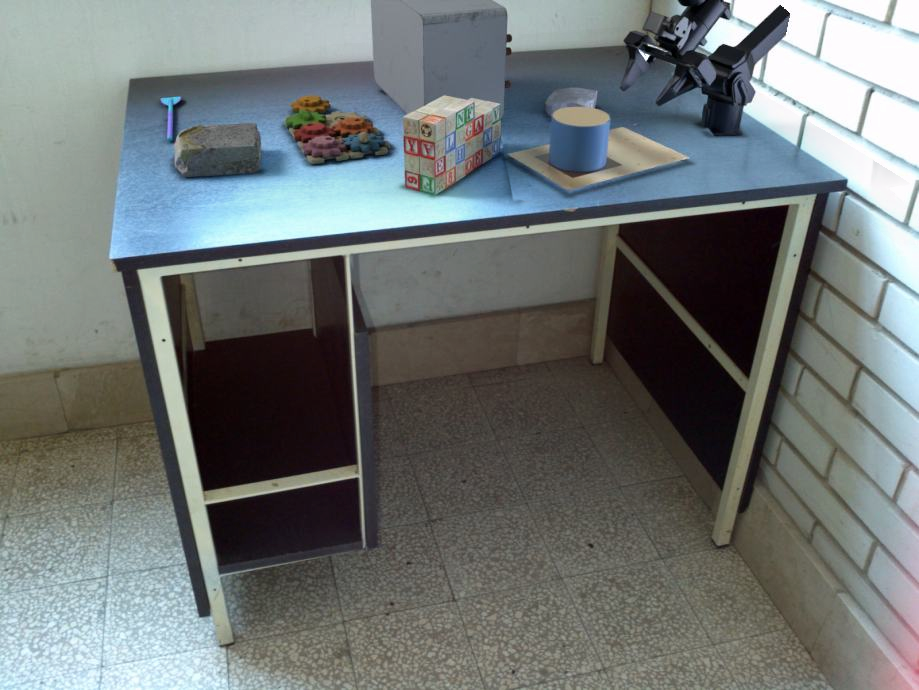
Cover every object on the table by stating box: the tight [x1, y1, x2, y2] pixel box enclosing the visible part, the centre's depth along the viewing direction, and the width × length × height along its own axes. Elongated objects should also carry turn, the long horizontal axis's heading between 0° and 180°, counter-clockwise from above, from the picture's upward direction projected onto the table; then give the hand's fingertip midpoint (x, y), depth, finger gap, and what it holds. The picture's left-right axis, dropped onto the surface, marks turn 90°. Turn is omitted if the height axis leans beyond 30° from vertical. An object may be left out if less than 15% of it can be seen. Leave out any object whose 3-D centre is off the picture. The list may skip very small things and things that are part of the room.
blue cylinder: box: [549, 107, 612, 172], centre depth 153 cm, size 10×10×8 cm
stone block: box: [544, 87, 598, 117], centre depth 178 cm, size 12×5×10 cm
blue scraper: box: [160, 96, 182, 142], centre depth 173 cm, size 25×4×1 cm, turn 11°
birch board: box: [506, 126, 690, 191], centre depth 158 cm, size 27×18×1 cm, turn 122°
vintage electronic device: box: [370, 0, 513, 120], centre depth 174 cm, size 32×18×25 cm, turn 22°
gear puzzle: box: [283, 94, 392, 165], centre depth 168 cm, size 31×16×4 cm, turn 21°
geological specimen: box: [173, 122, 262, 178], centre depth 154 cm, size 11×6×15 cm
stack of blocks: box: [402, 95, 502, 196], centre depth 150 cm, size 21×6×12 cm, turn 148°
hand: (639, 97), depth 156 cm, fingers open, 9 cm apart
